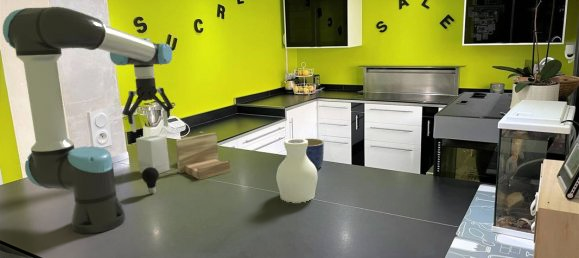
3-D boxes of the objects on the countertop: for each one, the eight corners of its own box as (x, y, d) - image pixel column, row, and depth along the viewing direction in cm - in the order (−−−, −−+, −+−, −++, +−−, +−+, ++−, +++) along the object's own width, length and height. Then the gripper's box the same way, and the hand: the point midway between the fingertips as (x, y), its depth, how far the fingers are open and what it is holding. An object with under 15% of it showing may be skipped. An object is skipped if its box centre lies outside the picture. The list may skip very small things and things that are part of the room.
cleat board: (234, 170, 180) (232, 138, 177) (194, 180, 169) (192, 146, 166) (216, 163, 191) (214, 132, 188) (178, 172, 180) (175, 139, 177)
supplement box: (170, 170, 183) (167, 136, 180) (153, 176, 176) (150, 140, 173) (155, 167, 188) (152, 133, 185) (139, 172, 181) (135, 138, 178)
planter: (305, 161, 190) (304, 137, 188) (329, 165, 183) (329, 140, 181) (288, 168, 181) (288, 143, 178) (313, 173, 173) (313, 147, 171)
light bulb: (163, 193, 157) (161, 167, 154) (149, 198, 152) (146, 171, 150) (155, 189, 160) (152, 164, 158) (140, 194, 156) (137, 167, 154)
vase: (292, 186, 159) (290, 134, 155) (325, 194, 151) (325, 138, 147) (268, 199, 148) (266, 143, 144) (303, 207, 140) (301, 148, 136)
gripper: (170, 74, 184) (174, 122, 189) (110, 79, 169) (116, 132, 173) (177, 75, 178) (182, 125, 183) (116, 81, 163) (122, 135, 168)
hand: (150, 128), depth 178 cm, fingers open, 13 cm apart
